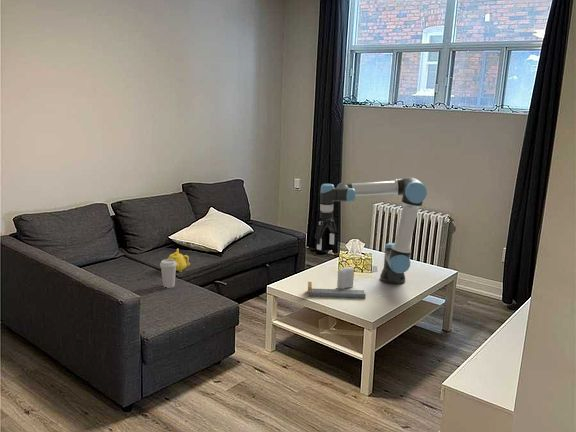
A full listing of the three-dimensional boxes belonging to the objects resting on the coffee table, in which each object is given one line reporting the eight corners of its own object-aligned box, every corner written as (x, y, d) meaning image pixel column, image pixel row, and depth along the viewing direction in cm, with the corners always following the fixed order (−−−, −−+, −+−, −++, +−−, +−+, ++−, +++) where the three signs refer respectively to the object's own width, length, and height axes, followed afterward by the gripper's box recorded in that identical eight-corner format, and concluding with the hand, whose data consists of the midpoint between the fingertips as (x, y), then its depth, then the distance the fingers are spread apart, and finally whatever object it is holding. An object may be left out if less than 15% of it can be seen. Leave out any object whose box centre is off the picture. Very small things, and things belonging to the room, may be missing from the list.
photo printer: (349, 284, 329) (350, 264, 326) (354, 286, 325) (355, 266, 322) (335, 287, 323) (336, 267, 320) (340, 289, 320) (341, 269, 317)
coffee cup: (180, 284, 321) (180, 260, 317) (170, 290, 312) (170, 264, 309) (167, 282, 325) (166, 257, 321) (156, 287, 316) (156, 262, 313)
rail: (363, 292, 316) (364, 283, 315) (365, 298, 307) (365, 289, 306) (307, 290, 317) (308, 281, 315) (307, 296, 308) (308, 287, 307)
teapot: (188, 275, 337) (188, 257, 334) (164, 275, 335) (163, 257, 333) (191, 264, 356) (190, 247, 354) (167, 265, 355) (167, 247, 352)
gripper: (332, 206, 327) (331, 241, 332) (308, 214, 307) (308, 250, 312) (343, 208, 323) (342, 243, 327) (320, 216, 303) (319, 253, 308)
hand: (325, 246), depth 320 cm, fingers open, 13 cm apart
